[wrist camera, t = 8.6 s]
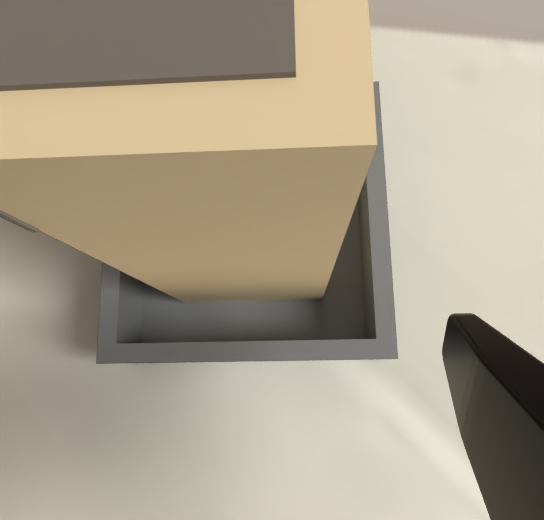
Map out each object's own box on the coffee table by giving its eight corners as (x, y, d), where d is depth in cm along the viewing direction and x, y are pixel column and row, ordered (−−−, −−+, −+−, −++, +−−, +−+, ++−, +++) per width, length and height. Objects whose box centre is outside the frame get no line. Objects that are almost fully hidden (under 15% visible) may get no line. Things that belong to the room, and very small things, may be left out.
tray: (381, 359, 17) (398, 359, 14) (130, 363, 18) (95, 363, 15) (366, 124, 19) (378, 81, 16) (140, 134, 19) (112, 93, 16)
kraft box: (322, 301, 17) (379, 145, 5) (182, 304, 17) (-111, 163, 5) (317, 168, 18) (352, -245, 6) (185, 172, 18) (-48, -212, 6)
